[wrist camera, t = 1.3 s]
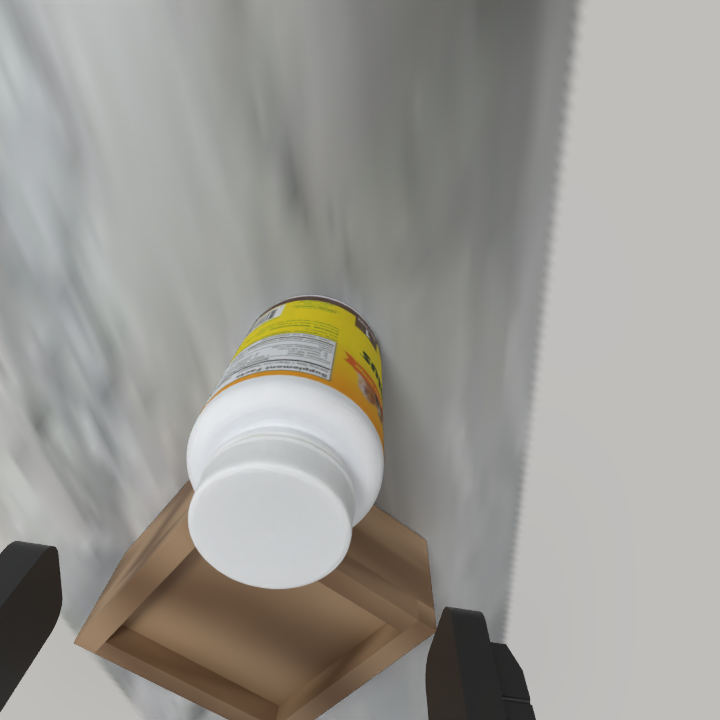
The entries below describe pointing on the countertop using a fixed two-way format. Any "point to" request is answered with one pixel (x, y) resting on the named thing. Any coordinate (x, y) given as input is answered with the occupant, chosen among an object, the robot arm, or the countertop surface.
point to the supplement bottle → (289, 446)
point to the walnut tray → (262, 620)
